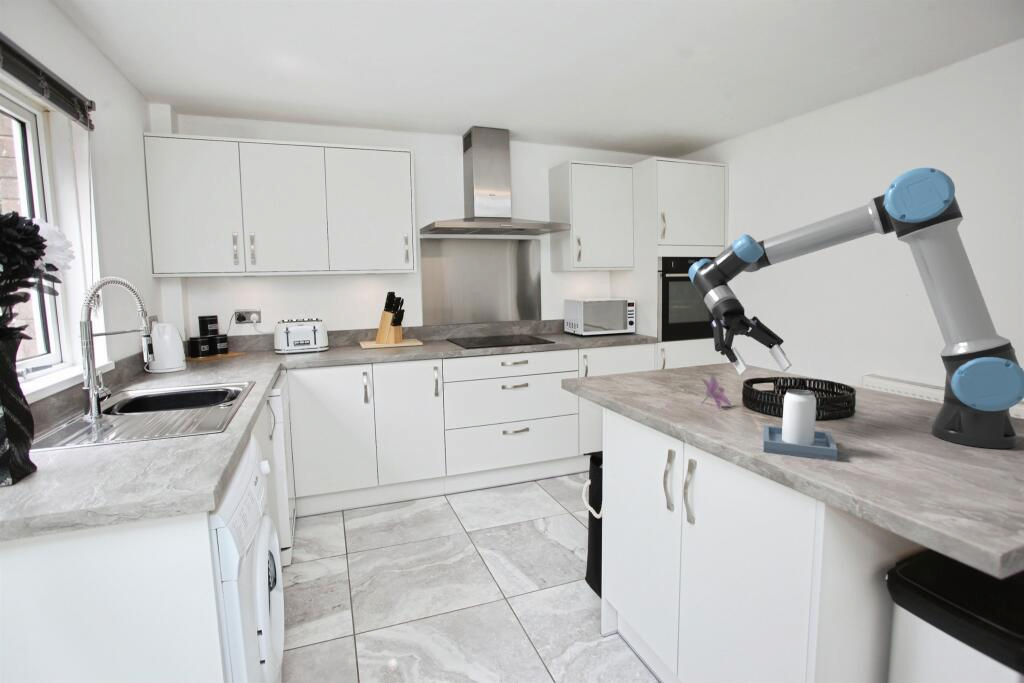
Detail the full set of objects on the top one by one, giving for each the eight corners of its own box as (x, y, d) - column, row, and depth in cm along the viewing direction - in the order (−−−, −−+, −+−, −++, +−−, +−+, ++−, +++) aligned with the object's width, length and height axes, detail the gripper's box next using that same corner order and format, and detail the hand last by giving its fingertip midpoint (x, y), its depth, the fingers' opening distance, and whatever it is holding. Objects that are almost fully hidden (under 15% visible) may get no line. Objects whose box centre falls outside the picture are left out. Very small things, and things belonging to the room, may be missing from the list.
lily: (698, 415, 150) (716, 389, 146) (680, 392, 160) (696, 367, 156) (729, 423, 154) (747, 398, 150) (709, 400, 164) (726, 376, 160)
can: (818, 448, 114) (821, 395, 112) (786, 446, 115) (789, 394, 113) (807, 439, 120) (810, 389, 118) (777, 437, 121) (780, 388, 120)
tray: (829, 442, 121) (829, 432, 120) (836, 461, 108) (837, 449, 108) (763, 435, 127) (764, 425, 126) (763, 451, 114) (764, 441, 114)
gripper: (753, 314, 144) (795, 375, 132) (679, 317, 136) (716, 382, 124) (768, 296, 139) (814, 357, 126) (693, 297, 130) (733, 364, 118)
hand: (766, 370), depth 125 cm, fingers open, 13 cm apart
